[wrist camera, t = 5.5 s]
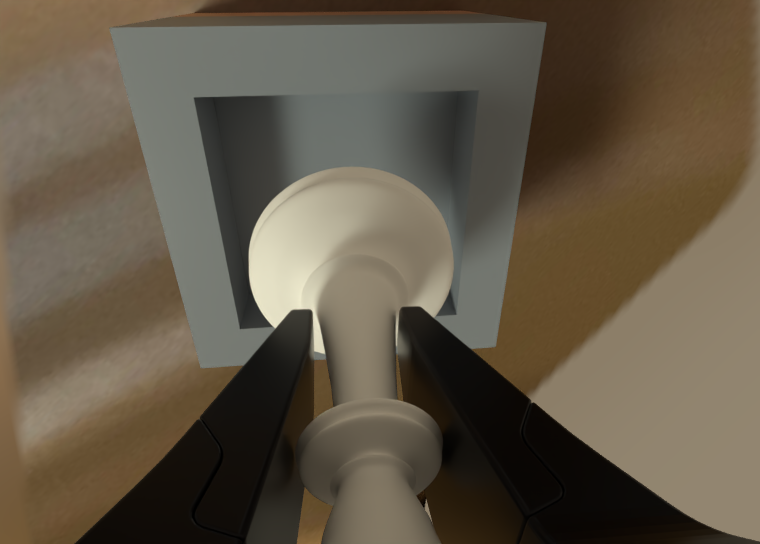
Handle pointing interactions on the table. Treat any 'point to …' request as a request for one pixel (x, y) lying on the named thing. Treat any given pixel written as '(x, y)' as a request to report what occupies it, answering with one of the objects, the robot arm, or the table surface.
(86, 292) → the table surface
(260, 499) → the robot arm
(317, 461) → the chess piece
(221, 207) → the grey planter box
